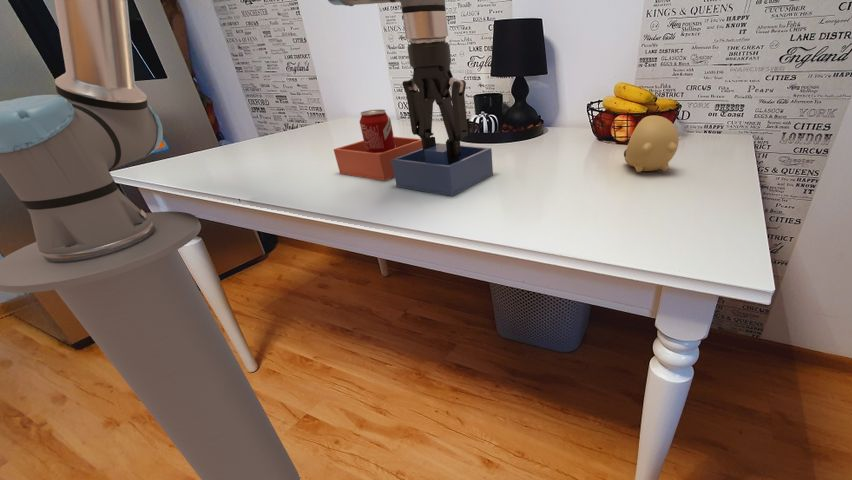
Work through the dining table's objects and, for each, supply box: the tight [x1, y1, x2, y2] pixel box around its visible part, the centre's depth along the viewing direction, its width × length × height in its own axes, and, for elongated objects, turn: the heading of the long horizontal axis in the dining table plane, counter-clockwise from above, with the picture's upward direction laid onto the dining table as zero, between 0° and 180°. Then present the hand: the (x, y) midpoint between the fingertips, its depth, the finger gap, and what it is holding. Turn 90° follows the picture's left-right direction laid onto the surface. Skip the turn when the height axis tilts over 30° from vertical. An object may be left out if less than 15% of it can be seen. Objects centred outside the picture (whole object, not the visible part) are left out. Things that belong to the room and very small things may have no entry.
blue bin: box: [391, 142, 494, 197], centre depth 83 cm, size 15×15×6 cm
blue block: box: [424, 144, 460, 165], centre depth 82 cm, size 5×5×5 cm
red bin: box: [333, 136, 423, 182], centre depth 93 cm, size 15×15×6 cm
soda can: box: [359, 109, 396, 154], centre depth 91 cm, size 7×7×12 cm
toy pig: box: [623, 115, 680, 173], centre depth 81 cm, size 10×12×11 cm
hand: (444, 171), depth 83 cm, fingers closed on blue block, 5 cm apart
